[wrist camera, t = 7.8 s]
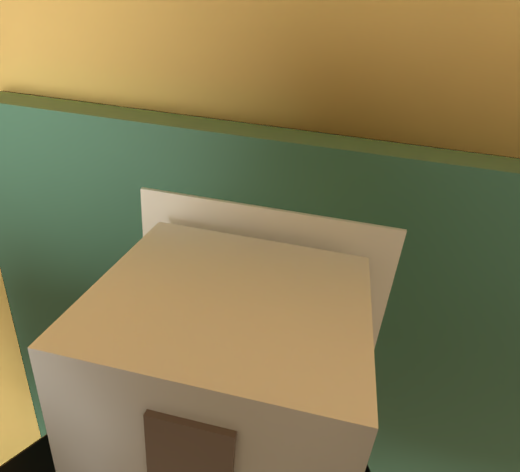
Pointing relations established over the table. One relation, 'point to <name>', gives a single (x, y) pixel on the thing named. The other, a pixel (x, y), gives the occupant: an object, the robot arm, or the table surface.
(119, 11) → the table surface
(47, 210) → the board
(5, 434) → the table surface
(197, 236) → the block
